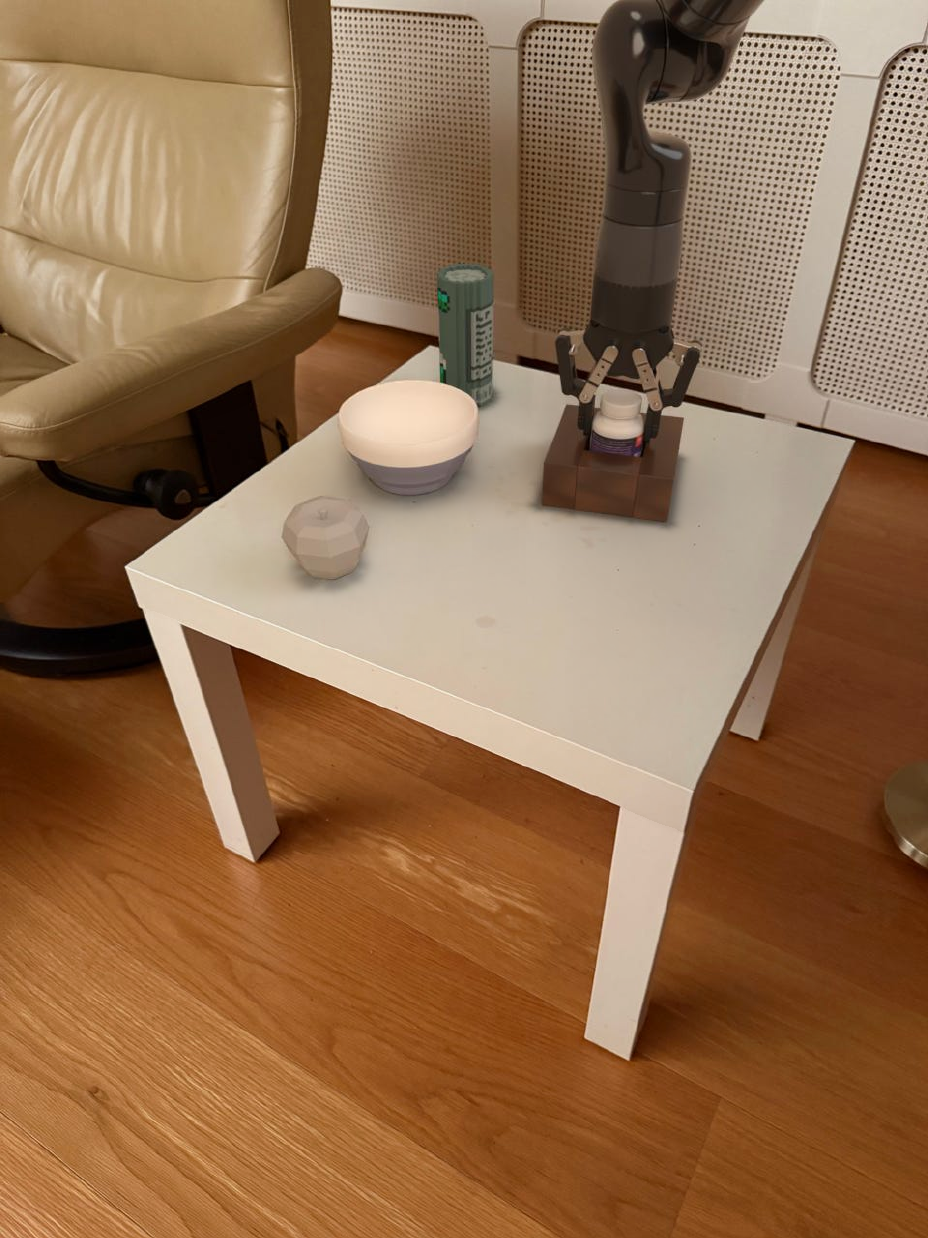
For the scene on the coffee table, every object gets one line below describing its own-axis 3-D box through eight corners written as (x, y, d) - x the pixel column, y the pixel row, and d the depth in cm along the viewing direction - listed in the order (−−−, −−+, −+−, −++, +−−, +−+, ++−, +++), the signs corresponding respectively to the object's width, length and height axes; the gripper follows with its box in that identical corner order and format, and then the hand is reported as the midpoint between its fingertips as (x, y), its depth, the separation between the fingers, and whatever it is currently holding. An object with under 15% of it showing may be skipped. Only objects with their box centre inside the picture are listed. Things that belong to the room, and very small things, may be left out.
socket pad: (677, 458, 97) (684, 417, 93) (666, 522, 87) (674, 479, 84) (563, 444, 99) (566, 403, 96) (541, 505, 90) (543, 462, 87)
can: (462, 380, 112) (460, 260, 102) (500, 394, 109) (503, 271, 99) (431, 398, 108) (426, 275, 98) (470, 413, 105) (469, 287, 95)
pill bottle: (640, 495, 91) (652, 409, 85) (588, 495, 91) (596, 409, 85) (634, 468, 95) (645, 384, 89) (584, 468, 95) (591, 384, 89)
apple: (390, 560, 83) (385, 502, 79) (336, 605, 78) (327, 545, 74) (326, 533, 87) (317, 476, 82) (270, 575, 82) (258, 516, 77)
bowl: (470, 436, 101) (470, 374, 96) (488, 507, 90) (488, 441, 85) (343, 446, 100) (336, 383, 95) (345, 518, 89) (337, 451, 84)
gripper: (549, 275, 77) (541, 445, 88) (716, 289, 74) (686, 463, 86) (564, 247, 83) (554, 411, 94) (720, 259, 80) (691, 426, 91)
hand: (617, 435), depth 90 cm, fingers closed on pill bottle, 5 cm apart
